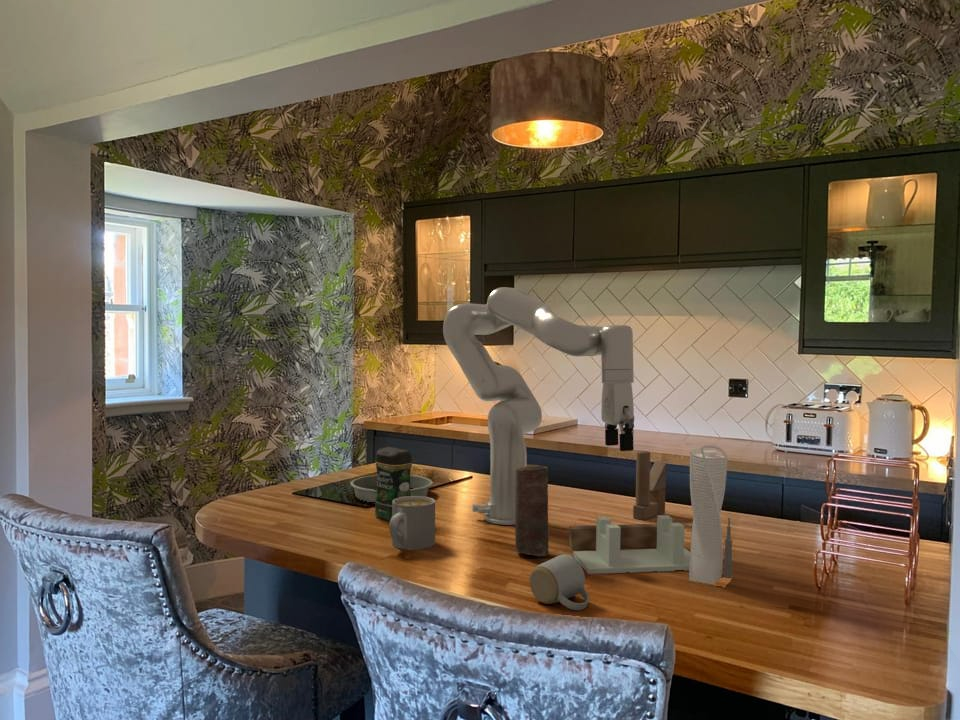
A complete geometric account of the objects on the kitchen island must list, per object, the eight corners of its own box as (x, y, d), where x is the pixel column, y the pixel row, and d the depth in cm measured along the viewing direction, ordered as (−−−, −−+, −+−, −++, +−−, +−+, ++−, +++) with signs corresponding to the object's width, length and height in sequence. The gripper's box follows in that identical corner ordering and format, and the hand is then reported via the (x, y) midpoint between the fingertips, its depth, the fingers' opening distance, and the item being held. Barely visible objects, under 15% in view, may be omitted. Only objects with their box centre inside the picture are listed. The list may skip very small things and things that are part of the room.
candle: (525, 561, 155) (526, 469, 154) (508, 552, 162) (509, 463, 161) (554, 556, 159) (556, 466, 158) (537, 547, 165) (538, 461, 164)
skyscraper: (723, 591, 139) (726, 448, 138) (681, 583, 143) (684, 444, 142) (733, 579, 146) (736, 442, 145) (693, 572, 150) (696, 439, 149)
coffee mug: (414, 534, 175) (414, 494, 174) (443, 543, 168) (444, 500, 168) (371, 546, 165) (372, 503, 164) (401, 556, 158) (401, 511, 158)
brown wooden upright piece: (665, 514, 198) (666, 449, 197) (644, 520, 190) (645, 453, 189) (653, 511, 200) (655, 447, 200) (632, 518, 193) (633, 451, 192)
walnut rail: (571, 550, 164) (572, 529, 164) (568, 547, 167) (569, 526, 166) (671, 547, 168) (672, 526, 167) (667, 544, 170) (668, 523, 170)
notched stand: (588, 573, 148) (589, 530, 147) (572, 555, 159) (573, 515, 159) (708, 569, 151) (709, 527, 151) (684, 552, 163) (685, 512, 163)
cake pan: (429, 506, 204) (429, 491, 204) (342, 505, 204) (342, 489, 204) (435, 488, 229) (435, 474, 228) (358, 487, 229) (358, 473, 229)
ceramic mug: (525, 599, 133) (526, 558, 133) (553, 588, 139) (554, 549, 138) (571, 617, 126) (572, 573, 125) (598, 604, 131) (600, 563, 131)
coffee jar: (369, 517, 191) (370, 447, 190) (392, 511, 197) (392, 444, 196) (394, 523, 185) (394, 451, 184) (416, 518, 190) (417, 448, 190)
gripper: (590, 376, 180) (592, 444, 180) (615, 378, 163) (617, 453, 163) (619, 375, 181) (620, 442, 182) (646, 377, 164) (648, 452, 165)
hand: (619, 447), depth 172 cm, fingers open, 9 cm apart
